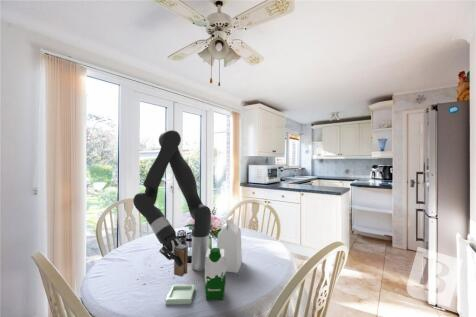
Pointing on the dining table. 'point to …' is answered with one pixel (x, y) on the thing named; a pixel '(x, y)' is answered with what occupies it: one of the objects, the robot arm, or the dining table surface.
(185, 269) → the brown wooden slotted block
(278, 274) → the dining table surface
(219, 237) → the milk
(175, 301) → the rest
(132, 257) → the dining table surface
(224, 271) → the milk carton
